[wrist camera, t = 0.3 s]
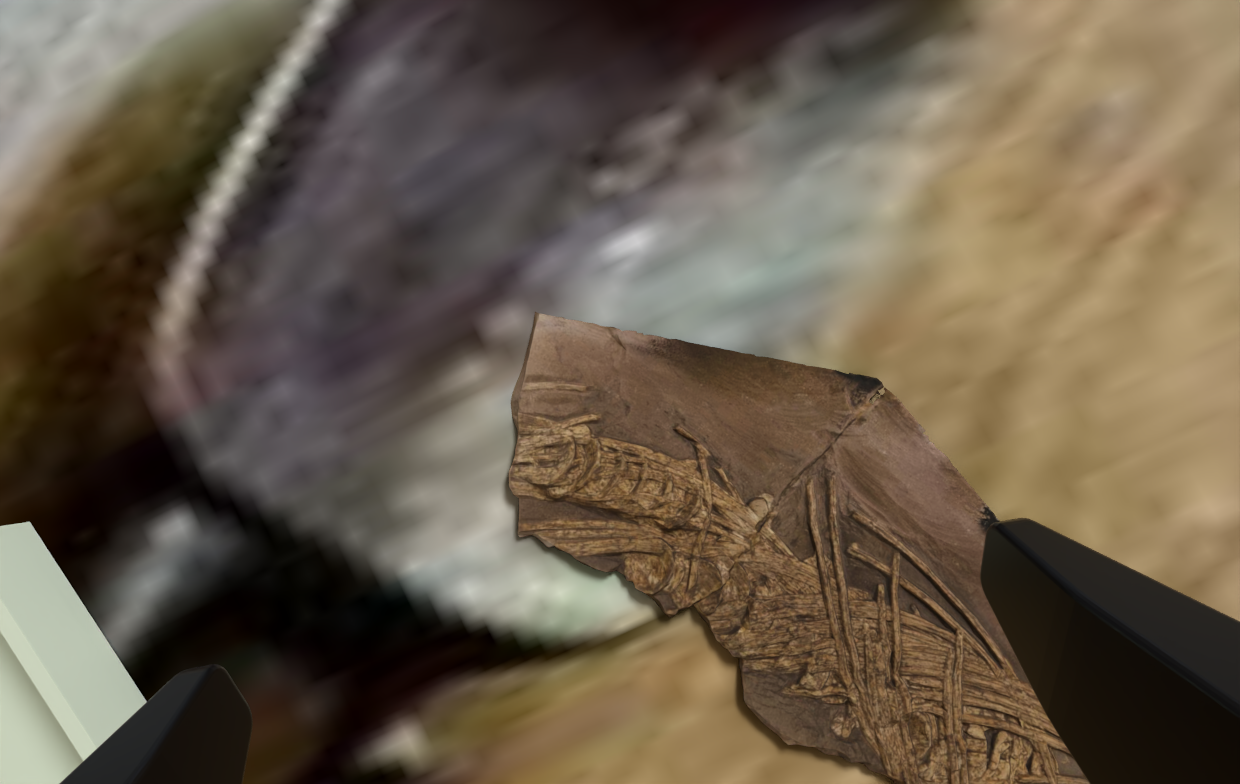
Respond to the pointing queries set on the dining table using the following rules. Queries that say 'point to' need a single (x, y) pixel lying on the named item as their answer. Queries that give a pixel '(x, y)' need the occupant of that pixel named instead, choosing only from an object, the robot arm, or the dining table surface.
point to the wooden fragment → (786, 544)
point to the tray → (52, 668)
